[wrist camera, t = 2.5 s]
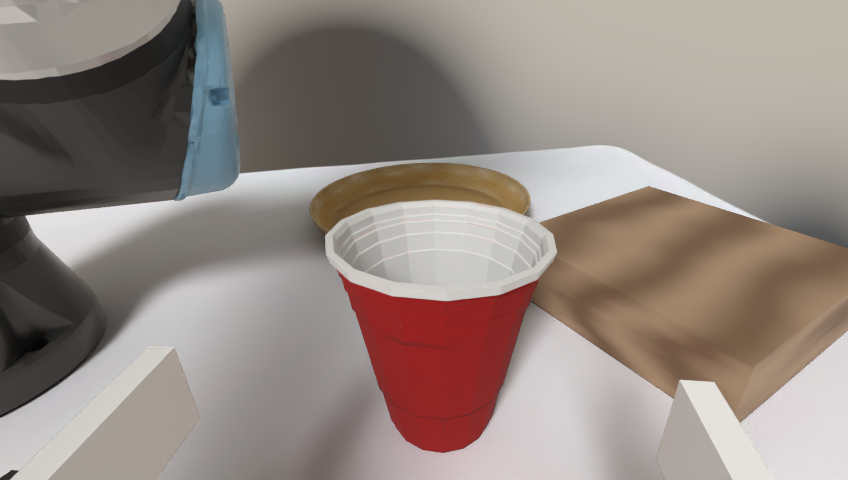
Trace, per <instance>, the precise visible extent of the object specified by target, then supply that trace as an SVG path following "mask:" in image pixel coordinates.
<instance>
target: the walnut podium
mask: <svg viewBox="0 0 848 480" xmlns="http://www.w3.org/2000/svg"><path fill="white" fill-rule="evenodd" d="M539 224H541V225H542V226H543V227H545V228H546V229H547V230H548V231H550V232H551V233H552V234H553V236H554V241H555V245H556V249H557V254H556V256H555V258H554V260H553V262H552V263H551V264H550V265H549V266H548V268H547V269H546V270H545V271H544V272H543V274H542V275H541V276H540V278H539V281H538V284H537V287H536V288H535V290H534V291H533V294H532V297H531V300H530V301H531V302H533V303H534V304H536V305H537V306H539V307H540V308H542V309H543V310H545V311H546V312H548V313H549V314H551V315H552V316H553V317H555V318H556V319H558V320H559V321H561V322H562V323H564V324H565V325H567V326H568V327H570V328H571V329H573V330H574V331H575V332H577V333H578V334H580V335H581V336H583V337H584V338H586V339H587V340H589V341H590V342H592V343H593V344H595V345H596V346H597V347H599V348H600V349H602V350H603V351H605V352H606V353H608V354H609V355H611V356H612V357H614V358H615V359H616V360H618V361H619V362H621V363H622V364H624V365H625V366H627V367H628V368H630V369H631V370H633V371H634V372H636V373H637V374H638V375H640V376H641V377H643V378H644V379H646V380H647V381H649V382H650V383H652V384H653V385H655V386H656V387H658V388H659V389H660V390H662V391H663V392H665V393H666V394H668V395H669V396H671V397H672V398H674V397H675V393H676V390H677V387H678V383H679V380H692V381H707V382H715V384H716V386H717V387H718V389H719V391H720V392H721V394H722V395H723V397H724V399H725V400H726V402H727V403H728V405H729V407H730V408H731V410H732V411H733V413H734V415H735V416H736V418H737V419H738V421H739V423H740V422H741V421H743V420H744V419H745V418H746V417H747V416H748V415H750V414H751V413H752V412H753V411H754V410H755V409H757V408H758V407H759V406H760V405H761V404H762V403H764V402H765V401H766V400H767V399H768V398H769V397H771V396H772V395H773V394H774V393H775V392H776V391H778V390H779V389H780V388H781V387H782V386H783V385H785V384H786V383H787V382H788V381H789V380H790V379H792V378H793V377H794V376H795V375H796V374H797V373H799V372H800V371H801V370H802V369H803V368H804V367H806V366H807V365H808V364H809V363H810V362H811V361H813V360H814V359H815V358H816V357H817V356H818V355H820V354H821V353H822V352H823V351H824V350H825V349H827V348H828V347H829V346H830V345H831V344H832V343H834V342H835V341H836V340H837V339H838V338H839V337H841V336H842V335H843V334H844V333H845V332H846V331H848V248H845V247H842V246H839V245H836V244H832V243H829V242H826V241H823V240H819V239H816V238H813V237H810V236H807V235H803V234H800V233H797V232H794V231H790V230H787V229H784V228H781V227H778V226H775V225H771V224H768V223H765V222H762V221H759V220H755V219H752V218H749V217H746V216H743V215H739V214H736V213H733V212H730V211H727V210H723V209H720V208H717V207H714V206H710V205H707V204H704V203H701V202H698V201H694V200H691V199H688V198H685V197H682V196H678V195H675V194H672V193H669V192H666V191H662V190H659V189H656V188H653V187H650V186H648V187H645V188H642V189H639V190H636V191H633V192H630V193H627V194H624V195H621V196H618V197H615V198H612V199H609V200H606V201H603V202H600V203H597V204H594V205H591V206H588V207H585V208H582V209H579V210H576V211H573V212H570V213H567V214H564V215H561V216H558V217H555V218H552V219H549V220H546V221H543V222H540V223H539Z"/></svg>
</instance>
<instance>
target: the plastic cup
mask: <svg viewBox="0 0 848 480" xmlns="http://www.w3.org/2000/svg"><path fill="white" fill-rule="evenodd" d="M325 248H326V256H327V258H328V261H329V263H330V264H331V265H332V266H333V267H334V268H336V270H337V271H338V273H339V276H340V277H341V278H342V281H343V284H344V288H345V291H346V292H347V293H348V295H349V298H350V302H351V306H352V309H353V310H354V311H355V313H356V316H357V319H358V322H359V325H360V328H361V331H362V335H363V338H364V341H365V344H366V347H367V350H368V353H369V357H370V360H371V363H372V366H373V369H374V372H375V375H376V379H377V382H378V385H379V388H380V389H381V391H382V392H383V394H384V397H385V401H386V404H387V407H388V410H389V413H390V417H391V420H392V421H393V423H394V424H395V426H396V428H397V429H398V431H399V432H400V433H401V434H402V436H403V437H404V438H405V440H406V441H408V442H410V443H411V444H413V445H415V446H417V447H419V448H421V449H422V450H427V451H434V452H442V453H445V452H449V451H454V450H459V449H463V448H465V447H466V446H468V445H469V444H471V443H472V442H474V441H475V440H477V439H478V438H479V437H480V435H481V434H482V432H483V431H484V429H485V427H486V426H487V424H488V422H489V420H490V419H491V417H492V414H493V410H494V407H495V403H496V400H497V396H498V393H499V390H500V388H501V386H502V385H503V382H504V379H505V376H506V372H507V369H508V366H509V363H510V359H511V356H512V353H513V349H514V346H515V343H516V340H517V336H518V333H519V330H520V327H521V323H522V320H523V317H524V313H525V310H526V309H527V307H528V306H529V303H530V300H531V297H532V294H533V291H534V290H535V288H536V287H537V284H538V281H539V278H540V276H541V275H542V274H543V272H544V271H545V270H546V269H547V268H548V266H549V265H550V264H551V263H552V262H553V260H554V258H555V256H556V254H557V249H556V245H555V241H554V236H553V234H552V233H551V232H550V231H548V230H547V229H546V228H545V227H543V226H542V225H541V224H539V223H538V222H537V221H536V220H534V219H532V218H530V217H527V216H524V215H522V214H519V213H516V212H514V211H511V210H509V209H506V208H502V207H496V206H491V205H486V204H480V203H475V202H467V201H449V200H423V201H408V202H397V203H393V204H388V205H383V206H378V207H374V208H369V209H366V210H363V211H361V212H359V213H356V214H354V215H352V216H349V217H347V218H345V219H342V220H340V221H339V222H338V223H337V224H336V225H335V226H334V227H333V228H332V229H331V230H330V231H329V232H328V233H327V234H326V235H325Z"/></svg>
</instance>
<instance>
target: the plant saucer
mask: <svg viewBox="0 0 848 480" xmlns="http://www.w3.org/2000/svg"><path fill="white" fill-rule="evenodd" d="M423 200H449V201H467V202H475V203H480V204H486V205H491V206H496V207H502V208H506V209H509V210H511V211H514V212H516V213H519V214H522V215H525V214H526V212H527V210H528V208H529V206H530V195H529V193H528V191H527V190H526V188H525V187H524V186H523V185H522V184H520V183H519V182H518V181H516V180H515V179H513V178H511V177H509V176H507V175H505V174H502V173H500V172H497V171H493V170H490V169H486V168H481V167H476V166H470V165H463V164H452V163H412V164H401V165H393V166H386V167H381V168H376V169H371V170H367V171H363V172H359V173H356V174H353V175H350V176H347V177H344V178H342V179H340V180H337V181H335V182H333V183H331V184H329V185H328V186H326V187H325V188H323V189H322V190H321V191H320V192H318V193H317V194H316V196H315V197H314V198H313V200H312V202H311V204H310V215H311V217H312V219H313V221H314V222H315V224H316V225H317V226H318V227H319V229H320V230H321V231H322V232H323V233H325V234H327V233H328V232H329V231H330V230H331V229H332V228H333V227H334V226H335V225H336V224H337V223H338V222H339V221H340V220H342V219H345V218H347V217H349V216H352V215H354V214H356V213H359V212H361V211H363V210H366V209H369V208H374V207H378V206H383V205H388V204H393V203H397V202H408V201H423Z"/></svg>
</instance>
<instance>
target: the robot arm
mask: <svg viewBox="0 0 848 480" xmlns="http://www.w3.org/2000/svg"><path fill="white" fill-rule="evenodd" d="M238 138H239V137H238V127H237V116H236V106H235V96H234V86H233V77H232V69H231V59H230V50H229V42H228V36H227V27H226V20H225V15H224V12H223V6H222V4H221V2H220V1H219V0H0V415H2V414H4V413H6V412H8V411H10V410H12V409H14V408H16V407H18V406H19V405H21V404H23V403H25V402H26V401H28V400H30V399H32V398H33V397H35V396H36V395H38V394H40V393H41V392H43V391H44V390H46V389H47V388H49V387H50V386H52V385H53V384H55V383H56V382H57V381H59V380H60V379H62V378H63V377H64V376H65V375H67V374H68V373H69V372H70V371H72V370H73V369H74V368H75V367H76V366H77V365H78V364H80V363H81V362H82V361H83V360H84V359H85V358H86V357H87V356H88V354H89V353H90V352H91V351H92V350H93V349H94V347H95V346H96V345H97V343H98V342H99V340H100V338H101V336H102V334H103V332H104V329H105V316H104V313H103V311H102V309H101V307H100V305H99V302H98V300H97V298H96V296H95V294H94V293H93V291H92V290H91V288H90V287H89V286H88V285H87V284H86V283H85V282H83V281H82V280H81V279H80V278H79V277H78V276H77V275H76V274H75V273H74V272H73V271H72V270H71V269H70V268H69V267H68V266H67V265H65V264H64V263H63V262H62V261H61V260H60V259H59V258H58V257H57V256H56V255H55V254H54V253H53V252H52V251H51V250H50V249H49V248H47V247H46V246H45V245H44V244H43V243H42V242H41V241H40V240H39V239H38V238H37V237H36V236H35V234H34V233H33V231H32V229H31V227H30V225H29V223H28V221H27V219H26V217H25V216H26V215H35V214H44V213H54V212H63V211H73V210H82V209H92V208H101V207H111V206H120V205H130V204H139V203H149V202H158V201H168V200H175V201H180V200H183V199H185V198H186V197H187V196H192V195H198V194H204V193H210V192H216V191H221V190H224V189H226V188H228V187H230V186H231V185H232V184H233V183H234V182H235V181H236V179H237V178H238V175H239V172H240V150H239V139H238ZM199 419H200V416H199V413H198V410H197V408H196V405H195V402H194V399H193V397H192V394H191V391H190V388H189V386H188V383H187V380H186V377H185V374H184V372H183V369H182V366H181V363H180V361H179V358H178V355H177V352H176V350H175V347H167V346H152V345H149V346H148V347H147V348H146V349H145V350H144V351H143V352H142V353H141V354H140V355H139V356H138V357H137V358H136V359H135V360H134V361H133V362H132V363H131V364H130V365H129V366H127V367H126V368H125V369H124V370H123V371H122V372H121V373H120V374H119V375H118V376H117V377H116V378H115V379H114V380H113V381H112V382H111V383H110V384H109V385H108V386H107V387H106V388H105V389H104V390H103V391H102V392H100V393H99V394H98V395H97V396H96V397H95V398H94V399H93V400H92V401H91V402H90V403H89V404H88V405H87V406H86V407H85V408H84V409H83V410H82V411H81V412H80V413H79V414H78V415H77V416H76V417H75V418H74V419H72V420H71V421H70V422H69V423H68V424H67V425H66V426H65V427H64V428H63V429H62V430H61V431H60V432H59V433H58V434H57V435H56V436H55V437H54V438H53V439H52V440H51V441H50V442H49V443H48V444H47V445H45V446H44V447H43V448H42V449H41V450H40V451H39V452H38V453H37V454H36V455H35V456H34V457H33V458H32V459H31V460H30V461H29V462H28V463H27V464H26V465H25V466H24V467H23V468H22V469H21V470H20V471H16V470H11V471H10V472H8V473H7V474H5V475H4V476H2V477H1V478H0V480H156V479H157V478H158V476H159V475H160V473H161V472H162V471H163V469H164V468H165V466H166V465H167V464H168V462H169V461H170V459H171V458H172V457H173V455H174V454H175V453H176V451H177V450H178V448H179V447H180V446H181V444H182V443H183V441H184V440H185V439H186V437H187V436H188V435H189V433H190V432H191V430H192V429H193V428H194V426H195V425H196V423H197V422H198V421H199ZM656 458H657V461H658V463H659V466H660V469H661V471H662V474H663V477H664V479H665V480H775V479H774V477H773V476H772V474H771V473H770V471H769V469H768V468H767V466H766V464H765V463H764V461H763V460H762V458H761V456H760V455H759V453H758V452H757V450H756V448H755V447H754V445H753V444H752V442H751V440H750V439H749V437H748V436H747V434H746V432H745V431H744V429H743V427H742V426H741V424H740V423H739V421H738V419H737V418H736V416H735V415H734V413H733V411H732V410H731V408H730V407H729V405H728V403H727V402H726V400H725V399H724V397H723V395H722V394H721V392H720V391H719V389H718V387H717V386H716V384H715V382H707V381H692V380H679V383H678V387H677V390H676V393H675V397H674V400H673V404H672V407H671V410H670V414H669V417H668V420H667V424H666V427H665V430H664V434H663V437H662V441H661V444H660V447H659V451H658V454H657V457H656Z"/></svg>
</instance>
